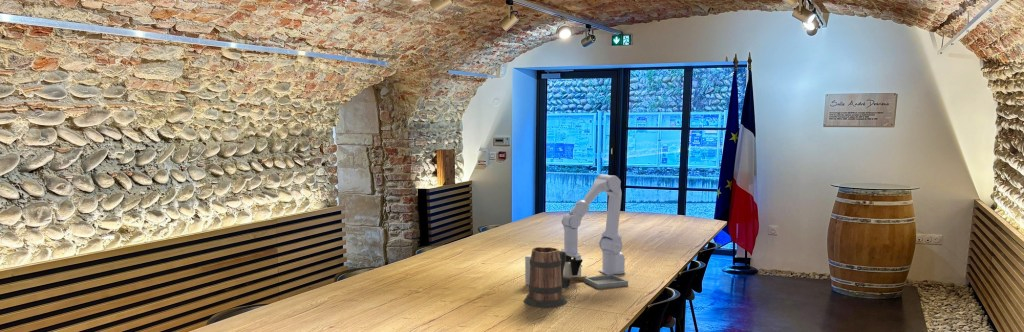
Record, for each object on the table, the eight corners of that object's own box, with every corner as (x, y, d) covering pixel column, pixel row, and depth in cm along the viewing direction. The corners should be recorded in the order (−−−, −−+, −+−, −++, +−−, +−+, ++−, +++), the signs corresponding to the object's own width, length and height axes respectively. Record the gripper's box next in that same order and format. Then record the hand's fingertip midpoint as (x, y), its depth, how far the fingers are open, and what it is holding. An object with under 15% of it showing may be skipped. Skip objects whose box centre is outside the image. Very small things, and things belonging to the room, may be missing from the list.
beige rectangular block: (578, 276, 281) (578, 261, 281) (582, 278, 278) (582, 262, 277) (560, 278, 278) (560, 262, 277) (564, 280, 274) (564, 264, 274)
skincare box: (541, 283, 270) (541, 255, 269) (538, 286, 266) (538, 257, 265) (528, 282, 272) (528, 254, 271) (524, 284, 268) (524, 256, 267)
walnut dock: (573, 274, 285) (573, 270, 285) (586, 280, 274) (586, 276, 274) (552, 276, 281) (552, 272, 281) (564, 283, 270) (564, 278, 270)
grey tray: (612, 279, 277) (613, 274, 277) (628, 285, 266) (628, 281, 266) (584, 282, 272) (584, 277, 272) (598, 289, 261) (598, 284, 260)
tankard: (549, 310, 232) (550, 256, 231) (514, 302, 243) (513, 250, 241) (586, 296, 250) (586, 246, 248) (551, 289, 261) (551, 240, 259)
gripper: (555, 239, 282) (555, 270, 283) (570, 245, 268) (570, 278, 269) (569, 238, 284) (569, 268, 285) (585, 244, 271) (585, 276, 272)
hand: (570, 273), depth 277 cm, fingers open, 7 cm apart
